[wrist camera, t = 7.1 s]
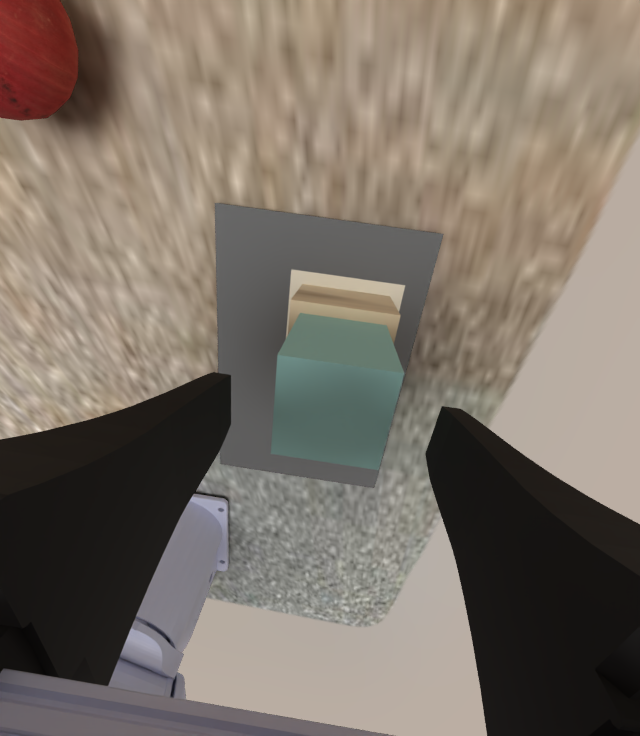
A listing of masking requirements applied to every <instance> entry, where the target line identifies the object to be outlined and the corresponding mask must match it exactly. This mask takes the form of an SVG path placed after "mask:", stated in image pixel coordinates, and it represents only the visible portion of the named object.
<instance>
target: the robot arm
mask: <svg viewBox="0 0 640 736" xmlns="http://www.w3.org/2000/svg"><path fill="white" fill-rule="evenodd" d="M230 426H231V375H229V374H222V373H215V372H213V373H210V374H207V375H204V376H202V377H200V378H197V379H195V380H193V381H191V382H188V383H186V384H184V385H182V386H180V387H177V388H175V389H173V390H170V391H168V392H166V393H164V394H161V395H159V396H156V397H154V398H151V399H149V400H146V401H144V402H141V403H139V404H136V405H134V406H131V407H128V408H125V409H122V410H119V411H116V412H113V413H110V414H107V415H104V416H100V417H97V418H94V419H90V420H87V421H83V422H79V423H75V424H71V425H67V426H63V427H59V428H55V429H51V430H47V431H42V432H38V433H33V434H28V435H23V436H18V437H12V438H7V439H1V440H0V736H393V735H388V734H382V733H376V732H370V731H365V730H359V729H352V728H347V727H341V726H335V725H330V724H324V723H318V722H312V721H306V720H300V719H295V718H289V717H283V716H277V715H272V714H266V713H260V712H254V711H248V710H243V709H236V708H231V707H224V706H219V705H214V704H208V703H202V702H196V701H190V700H186V694H185V681H184V677H183V675H182V674H180V673H178V672H177V671H178V668H179V666H180V663H181V660H182V658H183V655H184V654H183V653H182V652H183V650H184V649H185V648H186V646H187V644H188V642H189V640H190V638H191V636H192V633H193V631H194V628H195V625H196V623H197V620H198V618H199V615H200V612H201V610H202V607H203V605H204V602H205V599H206V597H207V594H208V591H209V589H210V586H211V583H212V581H213V578H214V576H215V573H216V570H217V571H227V569H228V566H229V532H228V501H227V500H226V499H224V498H219V497H212V496H206V495H200V494H194V493H195V491H196V489H197V488H198V486H199V484H200V483H201V481H202V479H203V478H204V476H205V474H206V473H207V471H208V469H209V468H210V466H211V464H212V463H213V461H214V459H215V458H216V456H217V454H218V453H219V451H220V449H221V447H222V445H223V442H224V440H225V438H226V436H227V433H228V431H229V428H230ZM426 460H427V466H428V472H429V477H430V482H431V485H432V488H433V491H434V494H435V497H436V501H437V504H438V507H439V510H440V513H441V516H442V519H443V522H444V525H445V528H446V531H447V534H448V537H449V540H450V543H451V546H452V549H453V553H454V556H455V560H456V564H457V568H458V573H459V577H460V582H461V586H462V590H463V595H464V600H465V605H466V610H467V615H468V620H469V625H470V631H471V636H472V641H473V646H474V653H475V659H476V664H477V671H478V676H479V682H480V688H481V695H482V702H483V709H484V716H485V723H486V730H487V736H640V524H638V523H636V522H634V521H632V520H630V519H629V518H627V517H625V516H623V515H621V514H619V513H617V512H615V511H614V510H612V509H610V508H608V507H606V506H604V505H602V504H600V503H599V502H597V501H595V500H593V499H592V498H590V497H588V496H586V495H585V494H583V493H581V492H580V491H578V490H576V489H575V488H573V487H572V486H570V485H568V484H567V483H565V482H563V481H562V480H560V479H559V478H557V477H555V476H554V475H552V474H551V473H549V472H548V471H546V470H545V469H543V468H542V467H540V466H539V465H537V464H536V463H534V462H533V461H532V460H530V459H529V458H527V457H525V456H524V455H523V454H522V453H520V452H519V451H517V450H516V449H514V448H513V447H512V446H511V445H509V444H508V443H507V442H505V441H504V440H503V439H501V438H500V437H499V436H497V435H496V434H495V433H493V432H492V431H491V430H489V429H488V428H487V427H486V426H484V425H483V424H482V423H480V422H479V421H478V420H476V419H475V418H473V417H472V416H471V415H469V414H468V413H466V412H465V411H463V410H461V409H458V408H451V407H444V406H442V408H441V411H440V413H439V416H438V419H437V422H436V425H435V428H434V431H433V434H432V437H431V440H430V442H429V445H428V448H427V451H426Z"/></svg>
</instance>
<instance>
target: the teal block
mask: <svg viewBox="0 0 640 736" xmlns="http://www.w3.org/2000/svg"><path fill="white" fill-rule="evenodd" d="M403 377H404V371H403V368H402V366H401V363H400V360H399V357H398V355H397V352H396V349H395V347H394V344H393V341H392V338H391V336H390V333H389V330H388V328H387V325H382V324H374V323H367V322H360V321H353V320H346V319H339V318H332V317H325V316H318V315H311V314H304V313H300V314H299V316H298V318H297V319H296V321H295V323H294V325H293V327H292V329H291V331H290V332H289V334H288V336H287V338H286V340H285V342H284V344H283V345H282V347H281V349H280V351H279V353H278V355H277V369H276V383H275V398H274V413H273V428H272V443H271V454H276V455H283V456H289V457H296V458H302V459H309V460H315V461H322V462H328V463H335V464H341V465H348V466H354V467H361V468H367V469H374V470H379V466H380V462H381V459H382V455H383V451H384V447H385V444H386V440H387V436H388V432H389V429H390V425H391V421H392V418H393V414H394V410H395V406H396V403H397V399H398V395H399V392H400V388H401V384H402V380H403Z"/></svg>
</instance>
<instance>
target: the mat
mask: <svg viewBox="0 0 640 736" xmlns="http://www.w3.org/2000/svg"><path fill="white" fill-rule="evenodd" d="M215 233H216V279H217V326H218V372H219V373H222V374H229V375H231V426H230V428H229V431H228V433H227V436H226V438H225V440H224V442H223V445H222V447H221V449H220V464H224V465H230V466H237V467H243V468H249V469H256V470H262V471H269V472H275V473H281V474H288V475H294V476H301V477H307V478H313V479H320V480H326V481H332V482H339V483H345V484H352V485H358V486H364V487H371V488H374V487H375V484H376V480H377V476H378V473H379V470H374V469H367V468H361V467H354V466H348V465H341V464H335V463H328V462H322V461H315V460H309V459H302V458H296V457H289V456H283V455H276V454H271V443H272V428H273V413H274V398H275V383H276V369H277V355H278V353H279V351H280V349H281V347H282V345H283V344H284V342H285V340H286V338H287V336H288V326H289V313H290V301H291V299H292V297H293V296H294V295H295V293H296V292H297V291H298V289H299V288H300V287H301V285H302V284H307V285H314V286H321V287H328V288H335V289H342V290H350V291H357V292H364V293H371V294H378V295H385V296H390V297H391V299H392V301H393V303H394V304H395V306H396V308H397V310H398V311H399V313H400V315H401V316H400V320H399V324H398V329H397V333H396V337H395V341H394V347H395V349H396V352H397V355H398V357H399V360H400V363H401V366H402V368H403V371H404V377H405V373H406V370H407V366H408V362H409V359H410V355H411V351H412V348H413V344H414V340H415V337H416V333H417V329H418V326H419V322H420V318H421V315H422V311H423V307H424V304H425V300H426V296H427V293H428V289H429V285H430V282H431V278H432V274H433V271H434V267H435V263H436V260H437V256H438V252H439V249H440V245H441V241H442V238H443V234H439V233H432V232H425V231H417V230H410V229H403V228H395V227H388V226H381V225H373V224H366V223H359V222H351V221H344V220H337V219H329V218H322V217H315V216H307V215H300V214H293V213H285V212H278V211H271V210H264V209H256V208H249V207H242V206H234V205H227V204H220V203H215ZM404 377H403V380H402V384H403V381H404ZM402 384H401V388H402ZM401 388H400V392H401ZM400 392H399V395H398V399H399V396H400ZM398 399H397V403H398ZM397 403H396V406H395V410H396V407H397ZM395 410H394V414H395ZM394 414H393V418H394ZM393 418H392V421H393ZM392 421H391V425H392ZM391 425H390V429H391ZM390 429H389V432H390ZM389 432H388V436H389ZM388 436H387V440H388ZM387 440H386V443H387ZM385 447H386V444H385ZM385 447H384V451H385ZM384 451H383V454H384ZM382 458H383V455H382ZM381 462H382V459H381ZM381 462H380V465H381ZM379 469H380V466H379Z"/></svg>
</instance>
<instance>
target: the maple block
mask: <svg viewBox="0 0 640 736" xmlns="http://www.w3.org/2000/svg"><path fill="white" fill-rule="evenodd" d="M300 313H304V314H311V315H318V316H325V317H332V318H339V319H346V320H353V321H360V322H367V323H374V324H382V325H387V328H388V330H389V333H390V336H391V338H392V341H393V344H394V341H395V337H396V333H397V329H398V324H399V320H400V316H401V315H400V313H399V311H398V310H397V308H396V306H395V304H394V303H393V301H392V299H391V297H390V296H385V295H378V294H371V293H364V292H357V291H350V290H342V289H335V288H328V287H321V286H314V285H307V284H302V285H301V287H300V288H299V289H298V291H297V292H296V293H295V295H294V296H293V297H292V299H291V301H290V313H289V326H288V334H289V332H290V331H291V329H292V327H293V325H294V323H295V321H296V319H297V318H298V316H299V314H300Z"/></svg>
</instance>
